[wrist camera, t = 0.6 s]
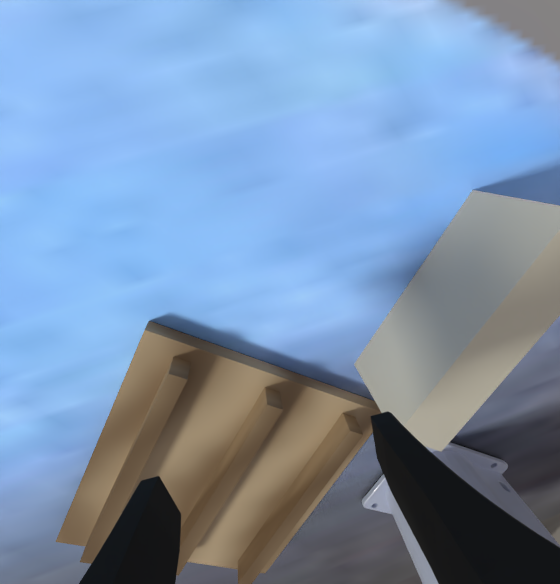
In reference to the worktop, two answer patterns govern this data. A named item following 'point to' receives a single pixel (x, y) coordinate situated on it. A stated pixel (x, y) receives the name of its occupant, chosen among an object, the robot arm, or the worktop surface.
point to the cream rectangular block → (466, 315)
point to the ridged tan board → (218, 450)
